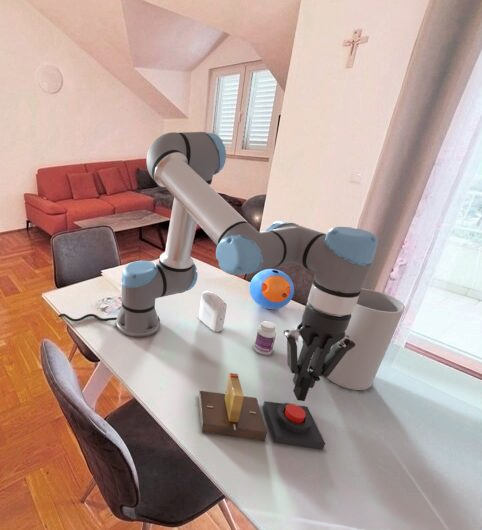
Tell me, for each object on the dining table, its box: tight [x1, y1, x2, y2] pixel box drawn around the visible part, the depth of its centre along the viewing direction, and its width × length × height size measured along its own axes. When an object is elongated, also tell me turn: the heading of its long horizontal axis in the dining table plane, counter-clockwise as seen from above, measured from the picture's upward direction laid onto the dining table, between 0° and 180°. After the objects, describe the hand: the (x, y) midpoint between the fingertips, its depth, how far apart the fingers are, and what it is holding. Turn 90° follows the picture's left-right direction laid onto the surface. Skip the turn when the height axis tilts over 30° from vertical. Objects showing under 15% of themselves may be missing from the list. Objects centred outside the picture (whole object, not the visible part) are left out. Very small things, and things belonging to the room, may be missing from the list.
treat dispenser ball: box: [249, 268, 295, 310], centre depth 122 cm, size 16×15×15 cm
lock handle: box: [224, 372, 245, 422], centre depth 74 cm, size 7×2×8 cm, turn 170°
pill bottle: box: [253, 320, 277, 356], centre depth 98 cm, size 5×5×10 cm
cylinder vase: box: [325, 287, 406, 391], centre depth 85 cm, size 12×12×25 cm
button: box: [285, 403, 306, 424], centre depth 72 cm, size 4×4×2 cm
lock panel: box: [197, 390, 268, 442], centre depth 76 cm, size 14×11×3 cm
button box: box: [262, 400, 326, 451], centre depth 73 cm, size 10×10×4 cm
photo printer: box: [198, 290, 228, 333], centre depth 111 cm, size 10×4×12 cm, turn 23°
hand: (298, 395), depth 71 cm, fingers closed
